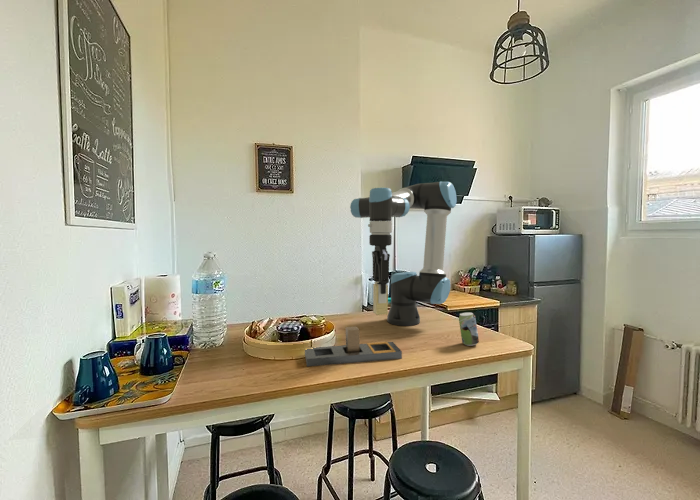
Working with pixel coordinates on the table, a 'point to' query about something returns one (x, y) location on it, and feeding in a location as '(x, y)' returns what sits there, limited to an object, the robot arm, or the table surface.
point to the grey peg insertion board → (352, 354)
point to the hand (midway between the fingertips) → (380, 301)
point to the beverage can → (468, 329)
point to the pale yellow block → (379, 307)
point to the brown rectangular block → (352, 340)
